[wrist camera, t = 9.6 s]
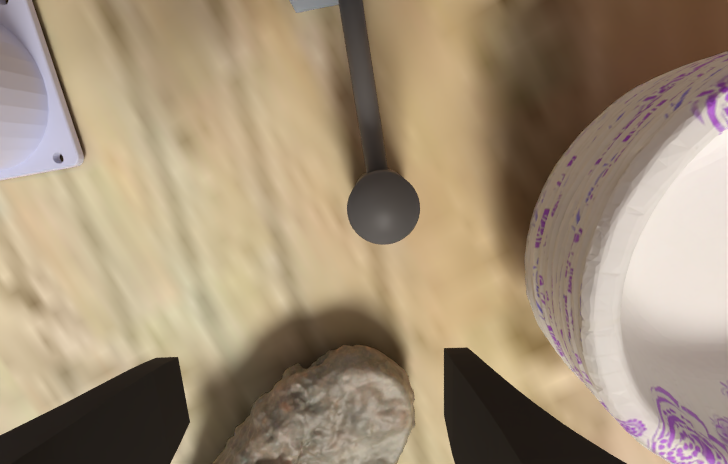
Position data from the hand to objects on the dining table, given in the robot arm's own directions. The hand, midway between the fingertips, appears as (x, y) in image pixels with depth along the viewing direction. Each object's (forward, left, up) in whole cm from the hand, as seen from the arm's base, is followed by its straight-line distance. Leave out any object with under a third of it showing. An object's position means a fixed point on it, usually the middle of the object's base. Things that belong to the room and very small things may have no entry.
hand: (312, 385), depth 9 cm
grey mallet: (+3, +11, -10) cm, 15 cm away
